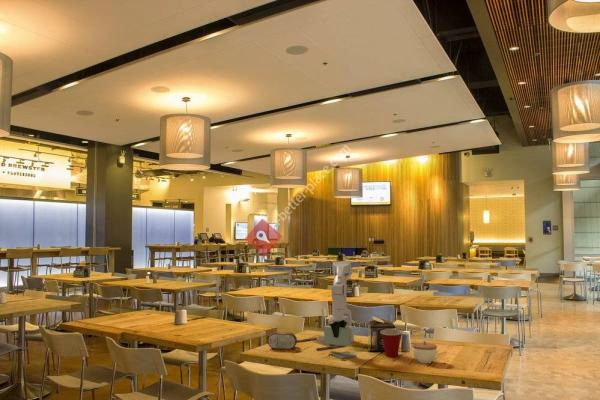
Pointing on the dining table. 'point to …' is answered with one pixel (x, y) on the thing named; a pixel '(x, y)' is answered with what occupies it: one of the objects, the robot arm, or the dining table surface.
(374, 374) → the dining table surface
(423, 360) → the lidded jar
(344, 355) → the mat
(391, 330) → the plastic cup
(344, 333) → the pale green block
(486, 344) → the dining table surface
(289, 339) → the tin
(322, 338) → the offcut top
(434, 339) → the dining table surface
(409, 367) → the dining table surface
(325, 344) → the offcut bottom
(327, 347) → the rack
